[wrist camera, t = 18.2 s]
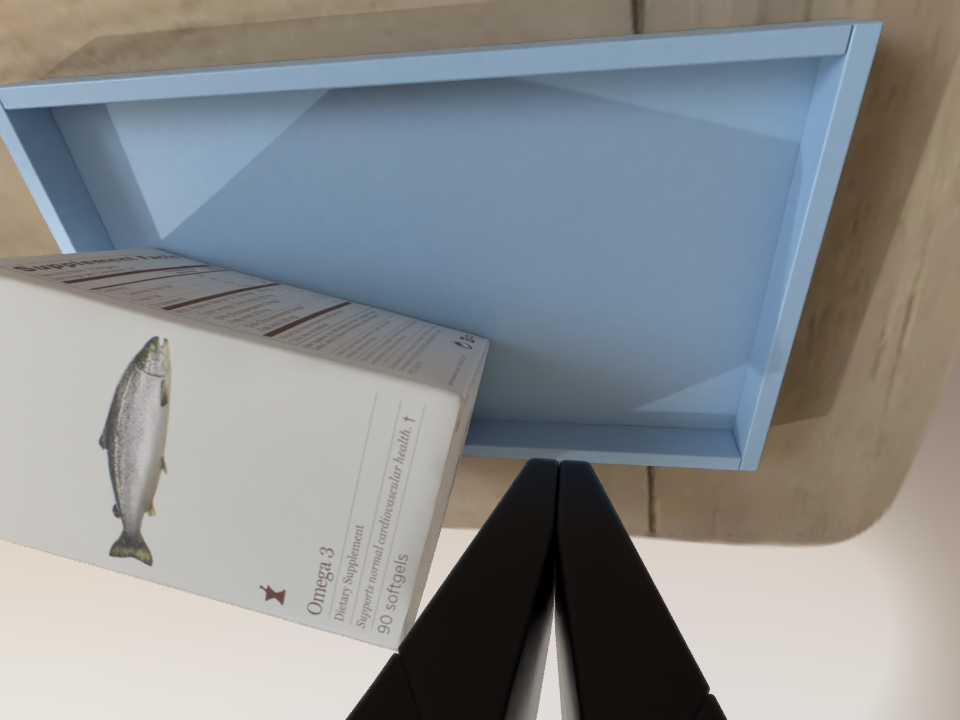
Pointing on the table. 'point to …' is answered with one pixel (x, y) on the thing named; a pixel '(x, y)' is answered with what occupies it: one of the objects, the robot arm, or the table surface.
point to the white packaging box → (230, 435)
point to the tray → (501, 209)
